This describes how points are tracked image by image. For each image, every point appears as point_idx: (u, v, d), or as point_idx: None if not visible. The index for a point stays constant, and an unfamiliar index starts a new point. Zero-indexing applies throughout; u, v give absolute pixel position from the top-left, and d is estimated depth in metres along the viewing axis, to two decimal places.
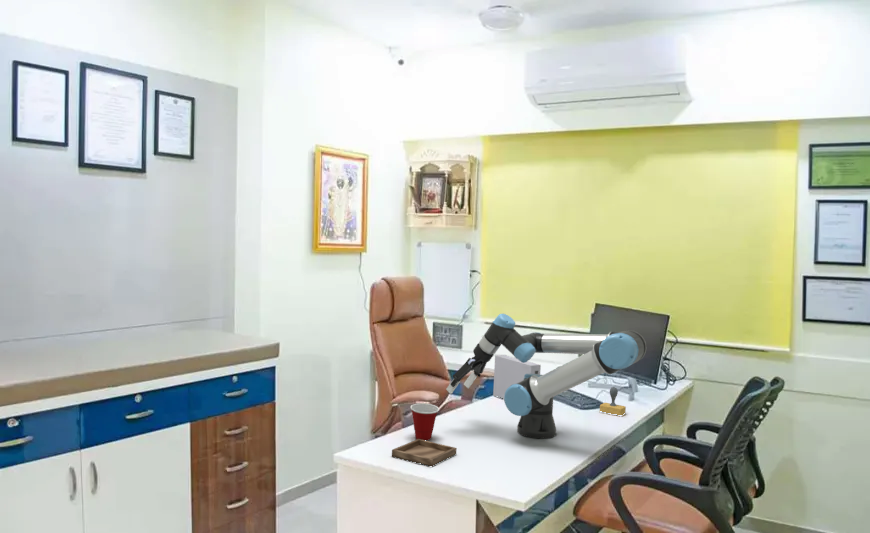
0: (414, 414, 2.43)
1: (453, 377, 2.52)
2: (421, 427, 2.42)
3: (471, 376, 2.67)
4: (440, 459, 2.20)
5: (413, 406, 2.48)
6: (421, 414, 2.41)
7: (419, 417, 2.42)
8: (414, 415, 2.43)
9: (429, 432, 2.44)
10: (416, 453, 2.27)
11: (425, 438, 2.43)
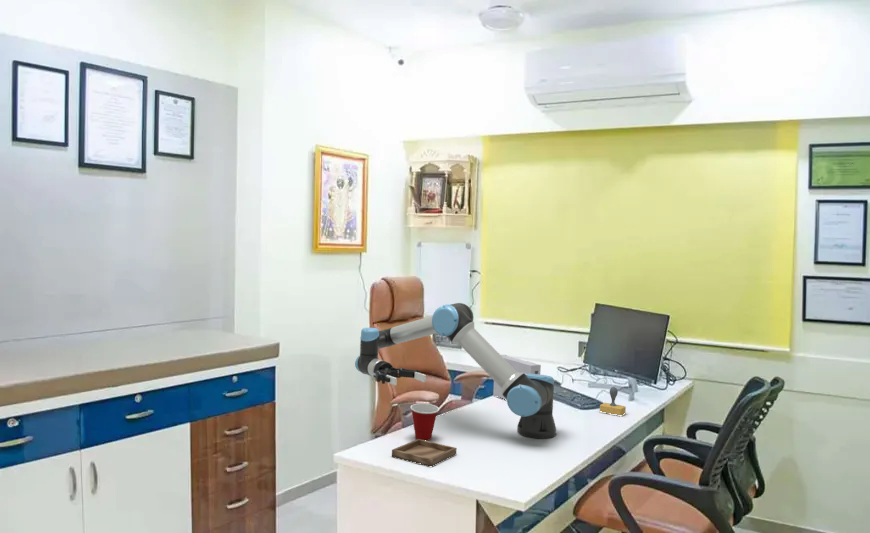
0: (414, 414, 2.43)
1: (378, 380, 2.53)
2: (421, 427, 2.42)
3: (416, 377, 2.61)
4: (440, 459, 2.20)
5: (413, 406, 2.48)
6: (421, 414, 2.41)
7: (419, 417, 2.42)
8: (414, 415, 2.43)
9: (429, 432, 2.44)
10: (416, 453, 2.27)
11: (425, 438, 2.43)
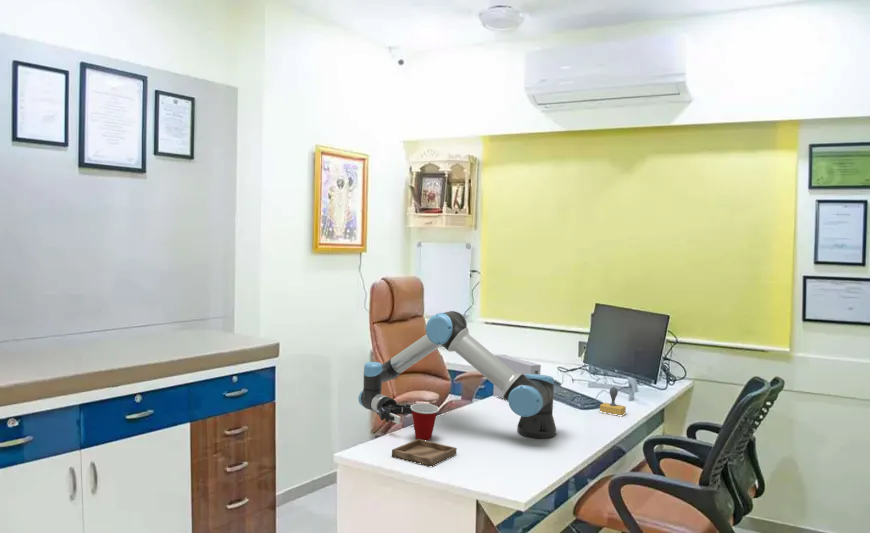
0: (414, 414, 2.43)
1: (381, 418, 2.50)
2: (421, 427, 2.42)
3: None
4: (440, 459, 2.20)
5: (413, 406, 2.48)
6: (421, 414, 2.41)
7: (419, 417, 2.42)
8: (414, 415, 2.43)
9: (429, 432, 2.44)
10: (416, 453, 2.27)
11: (425, 438, 2.43)
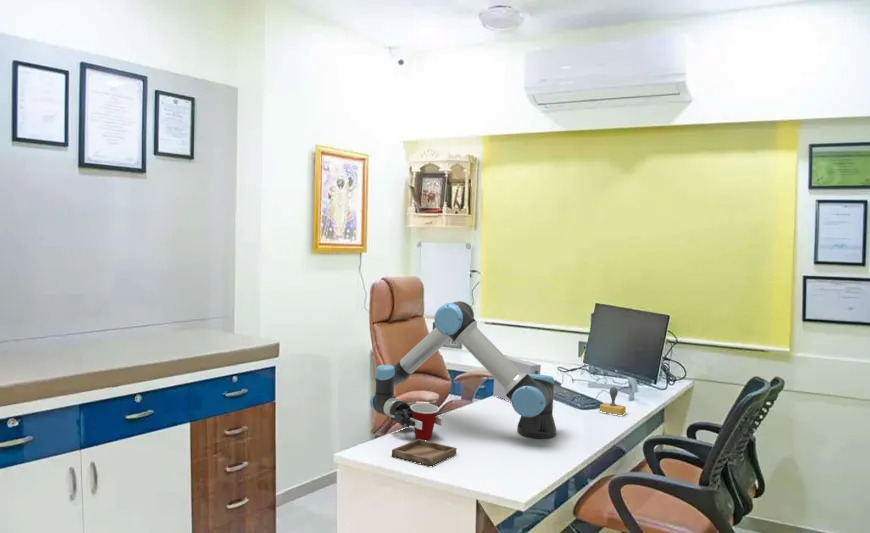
0: (414, 414, 2.43)
1: (402, 423, 2.43)
2: None
3: None
4: (440, 459, 2.20)
5: (413, 406, 2.48)
6: (421, 414, 2.41)
7: (419, 417, 2.42)
8: (414, 415, 2.43)
9: (429, 432, 2.44)
10: (416, 453, 2.27)
11: (425, 438, 2.43)
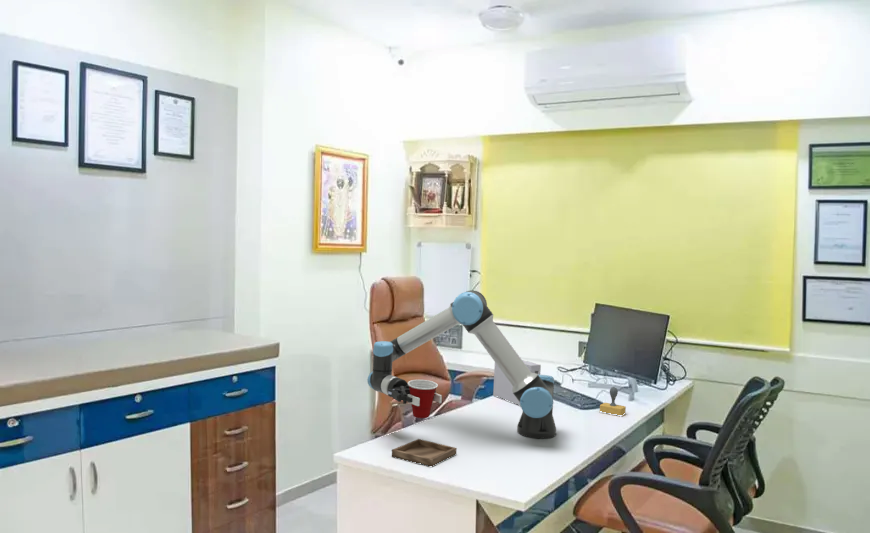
0: (411, 390, 2.32)
1: (399, 400, 2.32)
2: None
3: None
4: (440, 459, 2.20)
5: (411, 382, 2.37)
6: (418, 390, 2.30)
7: (416, 393, 2.31)
8: (411, 391, 2.32)
9: (427, 409, 2.32)
10: (416, 453, 2.27)
11: (423, 415, 2.32)
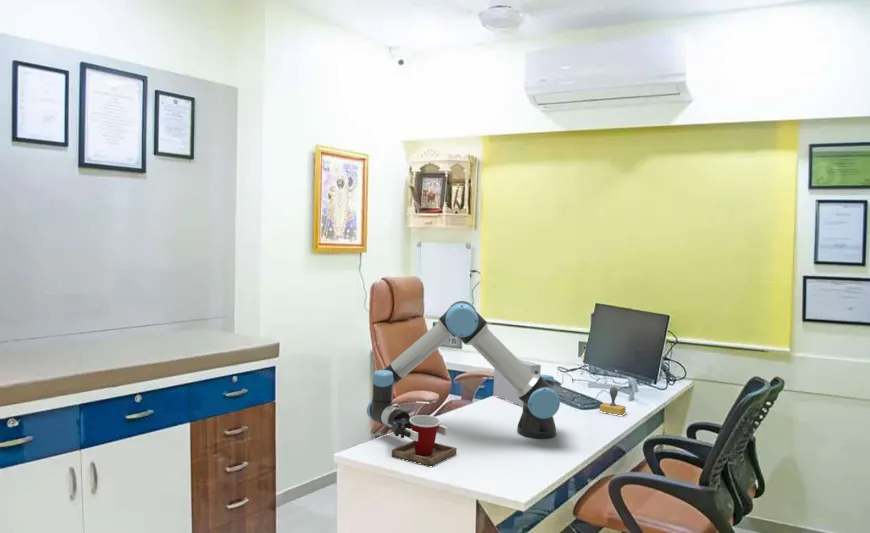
0: (413, 427, 2.24)
1: (396, 434, 2.24)
2: (421, 442, 2.23)
3: None
4: (440, 459, 2.20)
5: (412, 418, 2.28)
6: (421, 428, 2.22)
7: (419, 431, 2.22)
8: (413, 429, 2.24)
9: (430, 447, 2.24)
10: None
11: (426, 453, 2.24)
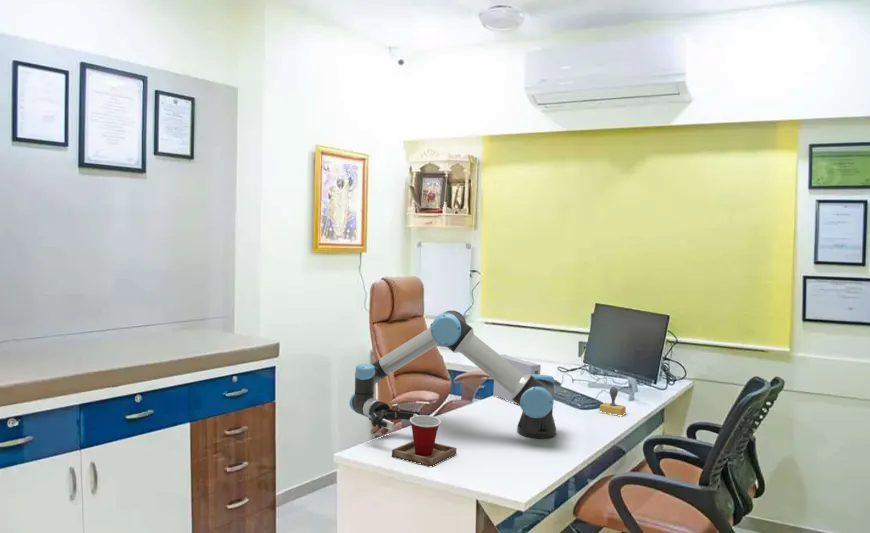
0: (414, 427, 2.24)
1: (373, 424, 2.34)
2: (421, 442, 2.23)
3: None
4: (440, 459, 2.20)
5: (413, 418, 2.28)
6: (421, 428, 2.22)
7: (419, 431, 2.22)
8: (414, 428, 2.24)
9: (430, 447, 2.24)
10: None
11: (426, 453, 2.24)
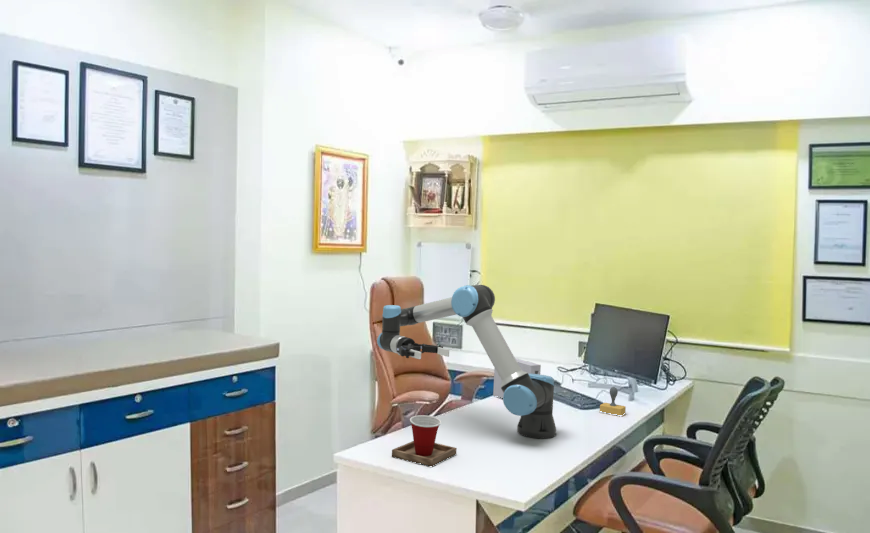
0: (414, 427, 2.24)
1: (402, 354, 2.55)
2: (421, 442, 2.23)
3: (439, 352, 2.63)
4: (440, 459, 2.20)
5: (413, 418, 2.28)
6: (421, 428, 2.22)
7: (419, 431, 2.22)
8: (414, 428, 2.24)
9: (430, 447, 2.24)
10: None
11: (426, 453, 2.24)
